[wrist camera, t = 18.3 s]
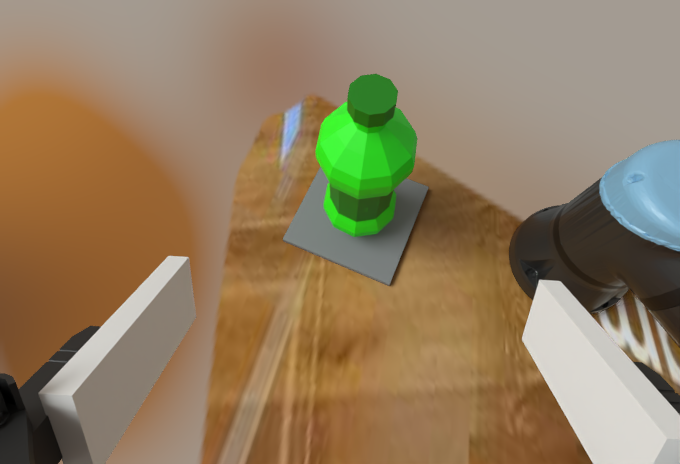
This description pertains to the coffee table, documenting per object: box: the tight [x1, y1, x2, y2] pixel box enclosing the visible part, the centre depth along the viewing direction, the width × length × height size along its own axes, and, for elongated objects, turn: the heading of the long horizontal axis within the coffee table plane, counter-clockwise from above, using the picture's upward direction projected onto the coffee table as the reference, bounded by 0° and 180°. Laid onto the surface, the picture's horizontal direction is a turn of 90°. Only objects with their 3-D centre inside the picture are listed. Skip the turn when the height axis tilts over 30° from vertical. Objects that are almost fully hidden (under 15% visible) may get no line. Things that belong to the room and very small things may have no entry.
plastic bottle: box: [316, 74, 417, 237], centre depth 45 cm, size 10×10×25 cm
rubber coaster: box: [283, 167, 429, 286], centre depth 57 cm, size 16×16×1 cm
